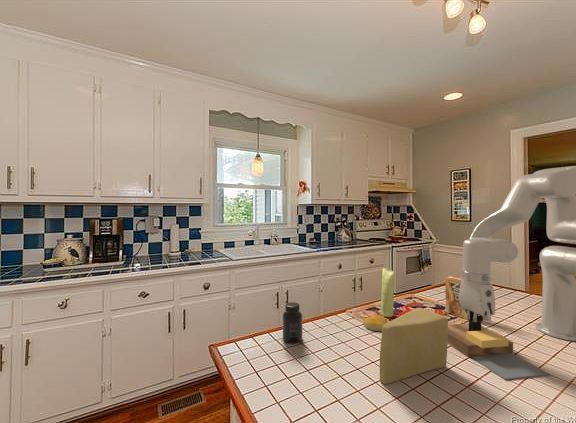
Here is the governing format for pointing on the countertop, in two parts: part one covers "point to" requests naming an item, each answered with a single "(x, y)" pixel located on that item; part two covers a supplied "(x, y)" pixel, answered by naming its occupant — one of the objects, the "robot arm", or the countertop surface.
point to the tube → (387, 293)
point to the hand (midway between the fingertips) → (474, 332)
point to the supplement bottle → (292, 323)
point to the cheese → (413, 345)
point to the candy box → (453, 297)
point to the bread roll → (374, 322)
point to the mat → (509, 366)
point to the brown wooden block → (469, 348)
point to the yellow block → (487, 338)
